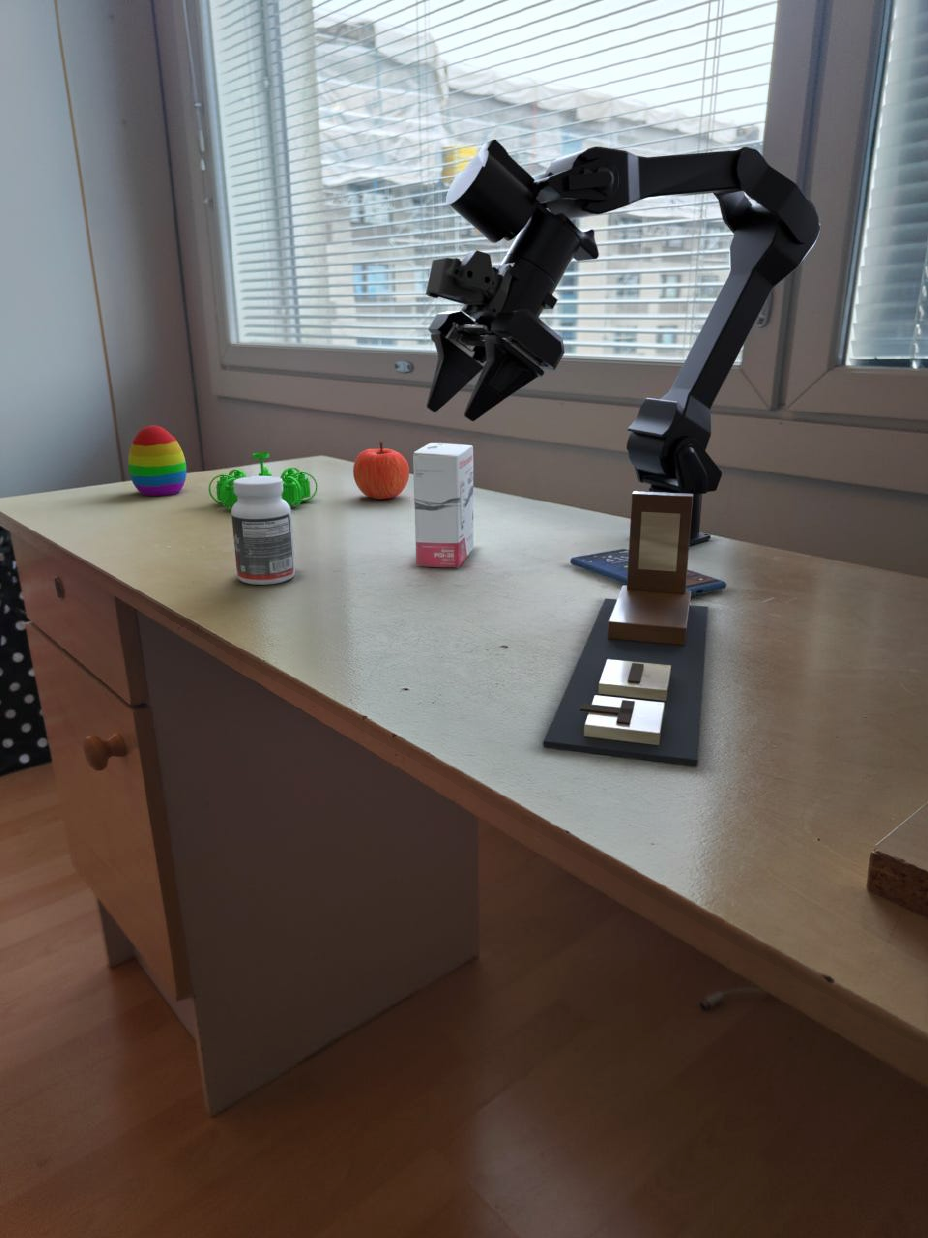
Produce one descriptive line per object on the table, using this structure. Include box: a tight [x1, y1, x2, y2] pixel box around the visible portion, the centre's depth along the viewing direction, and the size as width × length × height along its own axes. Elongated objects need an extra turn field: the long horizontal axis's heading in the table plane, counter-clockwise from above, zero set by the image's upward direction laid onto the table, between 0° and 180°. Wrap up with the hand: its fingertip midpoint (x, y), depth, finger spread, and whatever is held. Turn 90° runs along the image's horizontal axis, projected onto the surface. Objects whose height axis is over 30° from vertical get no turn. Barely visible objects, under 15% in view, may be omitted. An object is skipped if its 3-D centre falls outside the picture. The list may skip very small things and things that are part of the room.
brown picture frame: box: [608, 490, 693, 646], centre depth 70 cm, size 10×6×10 cm, turn 164°
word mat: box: [542, 598, 709, 767], centre depth 64 cm, size 29×9×1 cm, turn 164°
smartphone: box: [570, 548, 727, 597], centre depth 85 cm, size 8×1×15 cm
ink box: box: [412, 442, 474, 568], centre depth 91 cm, size 9×5×12 cm, turn 168°
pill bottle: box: [230, 475, 296, 586], centre depth 85 cm, size 6×6×10 cm
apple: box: [352, 441, 410, 500], centre depth 124 cm, size 8×8×8 cm
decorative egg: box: [127, 424, 187, 497], centre depth 128 cm, size 8×8×10 cm
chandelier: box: [208, 452, 318, 510], centre depth 121 cm, size 15×15×7 cm
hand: (448, 414), depth 84 cm, fingers open, 9 cm apart
